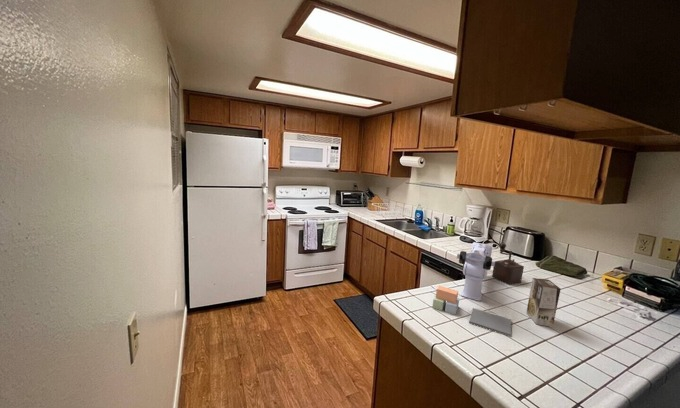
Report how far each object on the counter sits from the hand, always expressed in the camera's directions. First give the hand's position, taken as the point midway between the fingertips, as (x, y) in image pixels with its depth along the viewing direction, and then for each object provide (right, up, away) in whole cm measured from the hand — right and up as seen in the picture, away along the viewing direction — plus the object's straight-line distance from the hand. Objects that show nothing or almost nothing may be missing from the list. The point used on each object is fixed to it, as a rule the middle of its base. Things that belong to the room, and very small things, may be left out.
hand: (473, 263), depth 113 cm
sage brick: (-10, -20, +9) cm, 24 cm away
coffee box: (+28, -24, +3) cm, 37 cm away
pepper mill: (+37, -17, +44) cm, 60 cm away
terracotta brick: (-8, -16, +7) cm, 20 cm away
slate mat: (+6, -23, -2) cm, 24 cm away
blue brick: (-6, -21, +7) cm, 23 cm away
